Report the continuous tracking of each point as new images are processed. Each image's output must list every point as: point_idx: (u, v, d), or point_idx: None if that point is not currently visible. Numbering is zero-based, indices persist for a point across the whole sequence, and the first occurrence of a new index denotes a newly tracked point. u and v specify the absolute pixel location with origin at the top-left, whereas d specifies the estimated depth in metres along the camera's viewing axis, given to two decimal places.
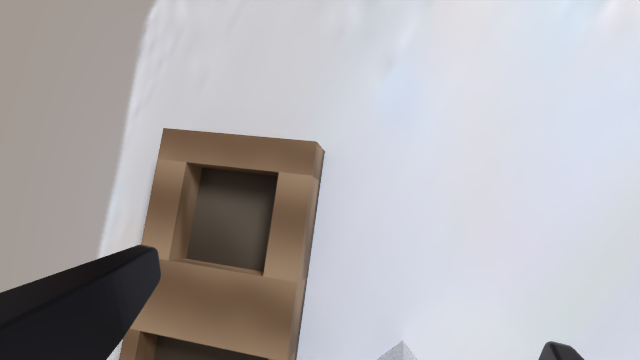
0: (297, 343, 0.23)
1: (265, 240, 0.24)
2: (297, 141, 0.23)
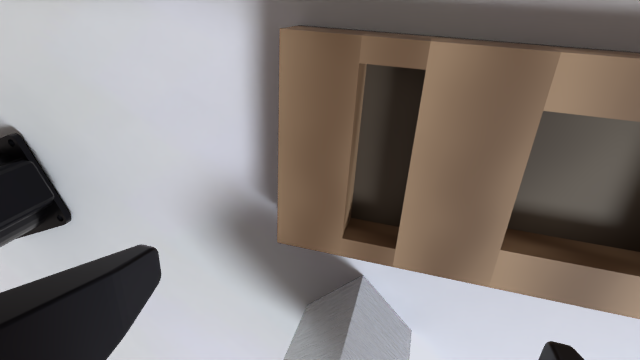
0: None
1: (543, 217, 0.17)
2: None
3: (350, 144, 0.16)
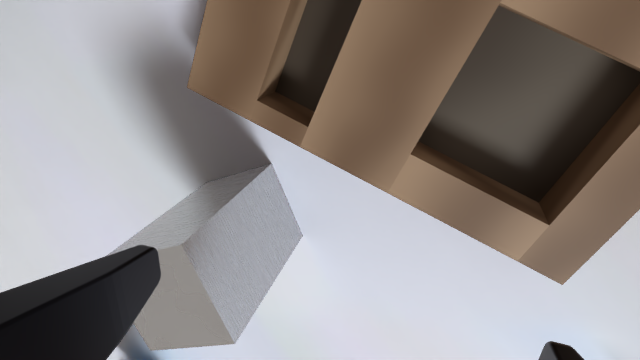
0: None
1: (463, 142, 0.17)
2: (580, 264, 0.15)
3: None
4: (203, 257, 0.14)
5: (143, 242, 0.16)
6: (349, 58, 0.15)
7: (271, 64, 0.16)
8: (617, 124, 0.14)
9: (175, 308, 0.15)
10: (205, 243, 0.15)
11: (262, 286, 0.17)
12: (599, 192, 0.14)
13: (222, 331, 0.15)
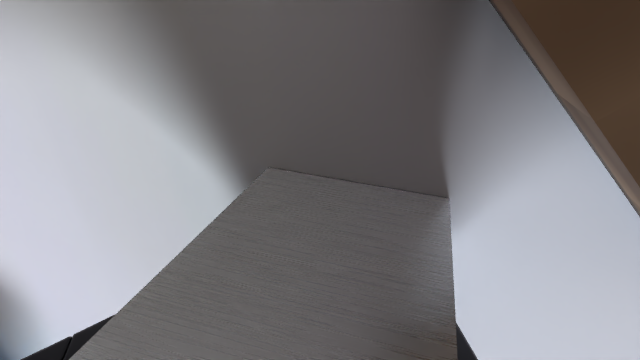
0: (633, 205, 0.08)
1: None
2: None
3: None
4: None
5: None
6: None
7: None
8: None
9: None
10: None
11: None
12: None
13: None
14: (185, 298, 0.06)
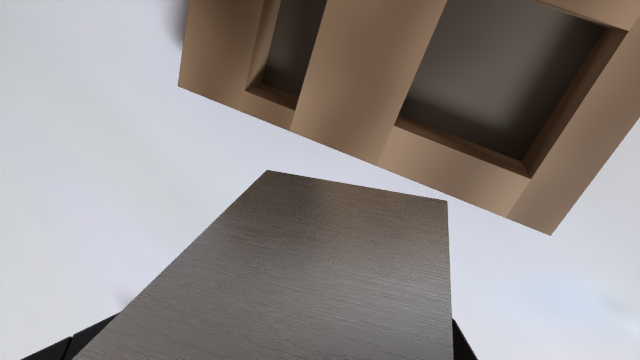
0: None
1: (443, 111, 0.18)
2: (564, 214, 0.16)
3: None
4: None
5: None
6: (326, 40, 0.16)
7: (254, 55, 0.17)
8: (583, 76, 0.15)
9: None
10: None
11: None
12: (573, 141, 0.15)
13: None
14: (183, 302, 0.06)
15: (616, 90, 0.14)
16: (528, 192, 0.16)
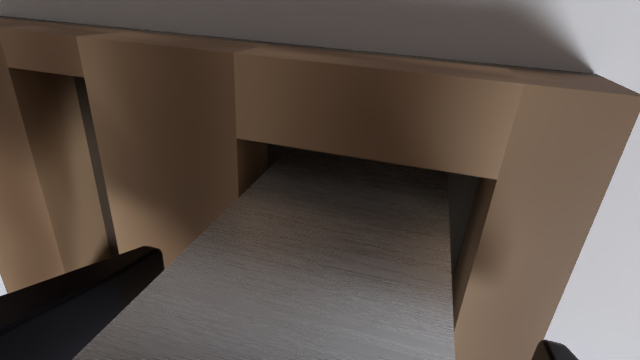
0: None
1: None
2: None
3: (38, 177, 0.12)
4: None
5: (226, 345, 0.05)
6: (126, 235, 0.12)
7: (68, 254, 0.14)
8: (473, 224, 0.10)
9: None
10: None
11: None
12: (479, 327, 0.10)
13: None
14: (236, 240, 0.07)
15: (513, 258, 0.09)
16: None
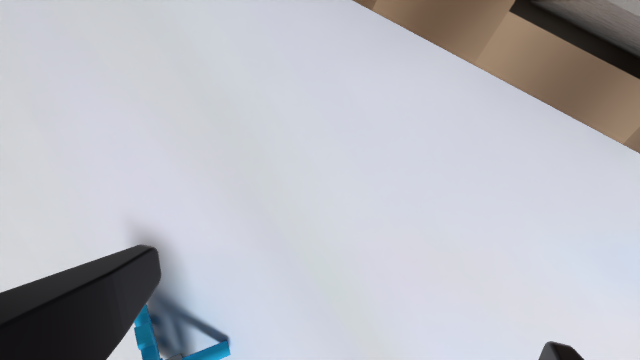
0: None
1: None
2: None
3: None
4: None
5: None
6: None
7: None
8: None
9: None
10: None
11: None
12: None
13: None
14: None
15: None
16: None
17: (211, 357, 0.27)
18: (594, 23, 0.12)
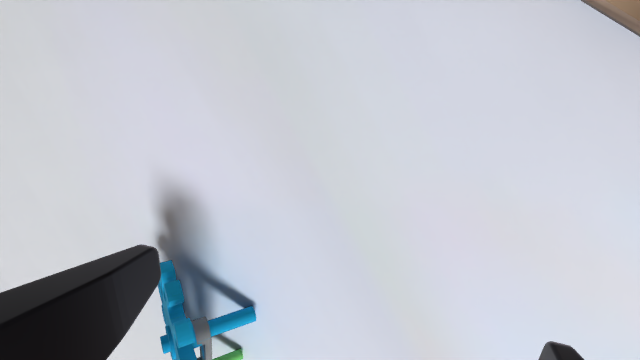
0: None
1: None
2: None
3: None
4: None
5: None
6: None
7: None
8: None
9: None
10: None
11: None
12: None
13: None
14: None
15: None
16: None
17: (237, 322, 0.26)
18: None
